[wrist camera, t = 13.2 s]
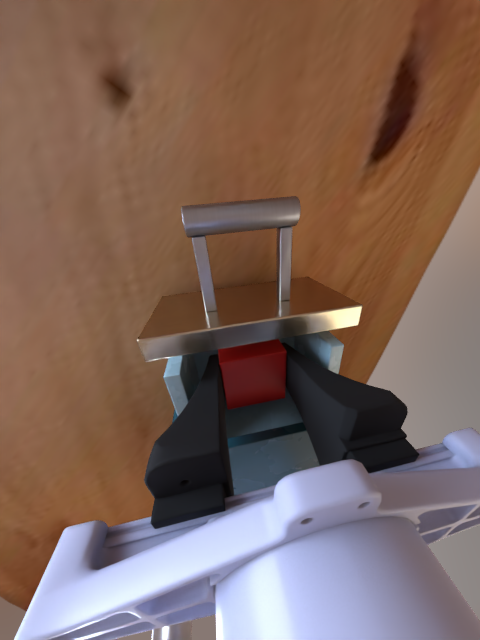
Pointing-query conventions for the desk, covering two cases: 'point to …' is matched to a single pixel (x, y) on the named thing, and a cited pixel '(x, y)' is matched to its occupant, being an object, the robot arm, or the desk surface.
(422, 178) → the desk surface
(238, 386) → the small red toy cube
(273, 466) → the teal box
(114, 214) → the desk surface
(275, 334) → the drawer
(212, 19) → the desk surface
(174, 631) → the plastic bottle
